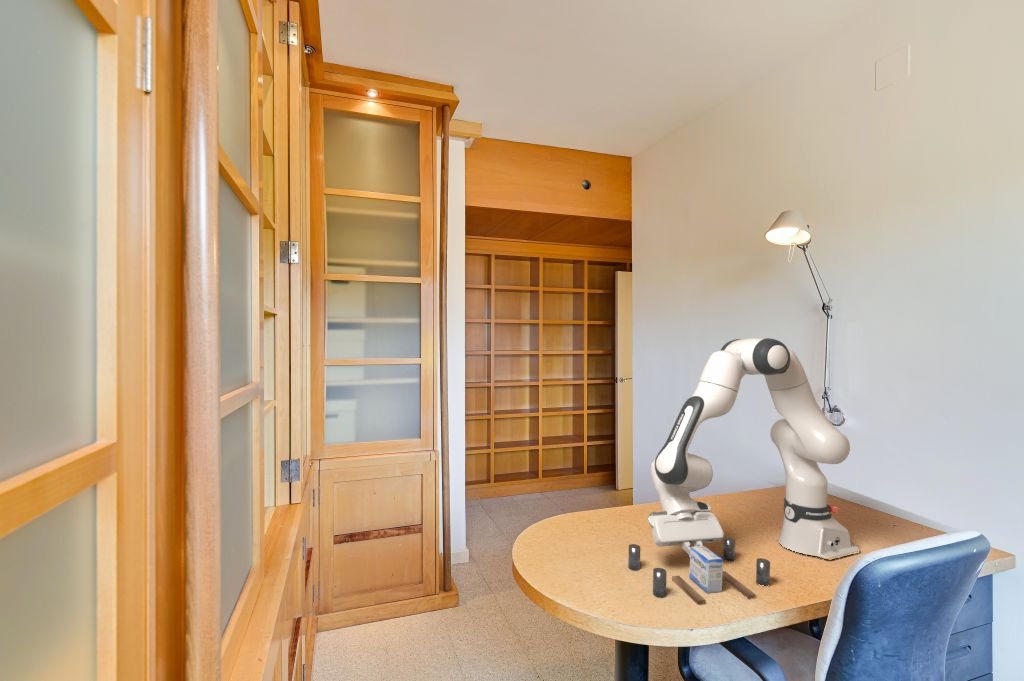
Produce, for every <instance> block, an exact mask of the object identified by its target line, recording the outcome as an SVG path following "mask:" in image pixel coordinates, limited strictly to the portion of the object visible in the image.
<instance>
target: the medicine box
mask: <svg viewBox="0 0 1024 681" xmlns="http://www.w3.org/2000/svg"><path fill="white" fill-rule="evenodd" d="M690 548H691V552H690V556H689V574H688V575H689V578H688V579H690V580H691V582H693V583H695V584H696V585H697V586H698V587H699V588H700V589H702V590H703V591H704V592H706V593H707V594H713V593H721V592H722V591H723V579H722V574H723V571H724V570H723V568H724V559H723V557H720V556H718V555H717V553H715V552H713V551H711V549H709V548H707V547H706V546H705V545H702V546H696V547H694V546H691V547H690Z"/></svg>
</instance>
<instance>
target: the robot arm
mask: <svg viewBox="0 0 1024 681" xmlns="http://www.w3.org/2000/svg"><path fill="white" fill-rule="evenodd" d="M745 375H750V376H751V375H752V376H755V375H763V376H764V378H765V382H766V386H767V388H768V391H769V394H770V396H771V399H772V402H773V405H774V409H775V410H776V412H777V413H778V414H779V415H780V416H781V417H782V418H781V419H779V420H776V421H775V422H774V423H773V424H772V426H771V428H770V432H769V433H770V439H771V441H772V443H773V444H774V445H775V447H776V448H777V450H778V452H779V454H780V458H781V460H782V464H783V468H784V474H785V497H784V498H783V512H784V514H783V521H782V526H781V531H780V534H779V538H778V540H779V541H778V544H779V543H780V544H781V545H782V546H781V545H780V544H779V545H780V546H781V547H783V548H784V547H785V548H784V549H786V548H787V550H788V549H790V550H792V551H791V552H793V551H795V552H794V553H796V552H799V553H803V554H809V555H815V556H820V557H824V558H834V557H838V556H842V555H846V554H850V553H854V552H858V551H860V552H861V549H859V546H857V545H855V544H854V543H851V536H850V532H849V530H848V529H847V527H845V526H844V525H843V524H841V523H840V522H839V521H837V520H836V519H835V518H834V517H833V515H832V513H833V514H838V513H839V512H840V508H839V507H838V506H835V505H829V504H828V480H827V477H826V475H825V474H824V473H823V472H822V471H821V469H820V467H819V465H818V463H819V464H828V465H839V464H841V463H843V462H844V461H846V460H847V458H848V457H849V455H850V452H851V443H850V441H849V439H848V436H846V435H845V434H844V433H842V432H841V431H840V430H839V429H838V428H837V427H835V425H833V423H832V422H831V420H829V418H828V417H827V416H826V414H825V413H824V411H823V410H822V409H821V407H820V405H819V404H818V402H817V399H816V398H815V395H814V393H813V391H812V387H811V385H810V382H809V378H808V376H807V373H806V371H805V369H804V367H803V365H802V363H801V361H800V359H799V358H798V355H797V354H796V353H795V352H794V351H793V350H792V349H790V348H788V347H787V346H786V345H785V343H783V342H782V341H780V340H778V339H775V338H768V337H767V338H766V337H765V338H763V337H761V338H760V337H749V338H742V339H741V338H739V339H738V338H737V339H732V340H730V341H727V342H726V343H725V344H724V345H723V346H722V347H721V348H720V350H716V351H714V352H713V353H711V354H710V356H709V358H708V359H707V361H706V363H705V365H704V367H703V370H702V371H701V375H700V377H699V380H698V383H697V386H696V387H695V390H694V392H693V393H692V395H691V397H689V398H688V399H686V401H685V402H684V404H683V405H682V407H681V408H680V411H679V413H678V415H677V417H676V420H675V422H674V424H673V426H672V428H671V431H670V433H669V435H668V437H667V439H666V441H665V443H664V445H663V446H662V447H661V449H660V450H659V451H658V453H657V454H656V457H655V459H654V460H653V461H652V462H651V465H650V469H649V470H650V477H651V480H652V484H653V487H654V489H655V490H654V491H655V492H656V494H657V495H658V497H659V504H660V507H661V510H662V511H652V512H651V513H650V514H649V515H648V517H647V520H648V523H649V526H650V527H651V533H652V539H653V541H654V544H655V545H656V546H657V547H660V548H661V547H671V546H681V548H682V549H683V551H684V552H685V553H687V555H688V556H689V557H690V552H691V547H690V546H691V545H693V547H696V546H704V545H703V544H710V543H719V542H720V541H722V540H723V537H725V533H724V530H723V528H722V526H721V523H720V522H719V520H718V518H717V516H716V515H715V514H714V513H713V512H711V511H712V506H711V505H710V504H709V503H708V502H704V501H700V500H696V499H693V498H691V495H690V493H693V492H697V491H700V490H703V489H705V488H706V487H708V486H709V485H710V483H711V482H712V479H713V475H714V474H713V468H712V465H711V463H710V462H709V461H708V459H706V458H704V457H702V456H699V455H697V454H696V455H695V454H693V453H689V452H688V450H689V448H690V445H691V443H692V441H693V438H694V436H695V434H696V433H697V432H696V431H698V430H697V429H698V428H699V426H700V425H701V424H702V423H703V422H705V421H707V420H708V419H712V418H713V419H714V418H720V417H722V416H725V415H727V414H728V413H729V412H730V411H731V410H732V408H733V407H734V405H735V402H736V400H737V396H738V392H739V389H740V386H741V382H742V379H743V378H744V377H745ZM852 546H853V547H852ZM790 550H789V551H790ZM799 553H798V554H799ZM828 555H830V556H828Z"/></svg>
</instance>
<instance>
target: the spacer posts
mask: <svg viewBox="0 0 1024 681" xmlns="http://www.w3.org/2000/svg"><path fill="white" fill-rule="evenodd" d="M735 554H736V539H735V538H734V537H732V536H723V538H722V559H723V561H725V560H726V561H725V562H729V561H730V562H732V561H733V562H735V561H736V556H735ZM627 558H628V560H627V562H628V566H627V568H628V569H629V570H630V571H635V572H636V571H640V570H641V546H640V544H639V545H638V544H635V543H631V544H629V545H628V557H627ZM734 560H735V561H734ZM733 562H732V563H733ZM652 570H653V574H652V578H653V579H652V595H653V596H654V597H656V598H659V599H663V598H666V597H667V570H666V569H664V568H663V567H655V568H653V569H652ZM755 572H756V573H755V575H756V576H755V583H756V582H757V583H758V584H760V585H764V586H768V585H771V584H770V583H771V582H770V581H771V575H770V574H771V561H770V560H769V559H766V558H762V557H761V558H760V557H759V558H757V559H756V569H755ZM757 583H756V584H757ZM758 584H757V585H758ZM760 585H759V586H760ZM764 586H763V587H764ZM768 587H769V586H768Z"/></svg>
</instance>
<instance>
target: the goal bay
mask: <svg viewBox="0 0 1024 681" xmlns="http://www.w3.org/2000/svg"><path fill="white" fill-rule="evenodd" d="M722 580H724V581H725V582H726V583H728V584H729V585H730V586H731V587H733V588H734V589H735V590H736V591H737V592H738V593H740V592H741V593H742V594H741V593H740V594H741V595H743V596H744V597H745V596H746V597H747V598H746V597H745V598H746V599H748V600H752V599H751V598H755V599H756V596H757V594H756V593H754V592H753V591H752V590H751V589H750V588H748V587H747V586H745V585H744V584H743V583H741V582H740V581H739V580H738V579H736V578H735V577H733V576H732V575H731V574H729V572H727V571H725V570H723V574H722ZM671 581H672V582H674V584H676V585H677V586H678V587H679V588H680V590H682V591H683V592H684V593H685V594H686V595H687V596H688V597H689V598H690V599H691V600H692V601H693V602H695V603H696V605H698V606H699V605H706V603H707V600H706V599H705V597H704V596H702V595H701V594H700V593H699V592H698V591H696V589H694V588H693V587H692V586H691V585H690V584H689V583H687V582H686V580H684V579H683V578H682V577H681V576H680V575H673V576H671Z"/></svg>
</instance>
